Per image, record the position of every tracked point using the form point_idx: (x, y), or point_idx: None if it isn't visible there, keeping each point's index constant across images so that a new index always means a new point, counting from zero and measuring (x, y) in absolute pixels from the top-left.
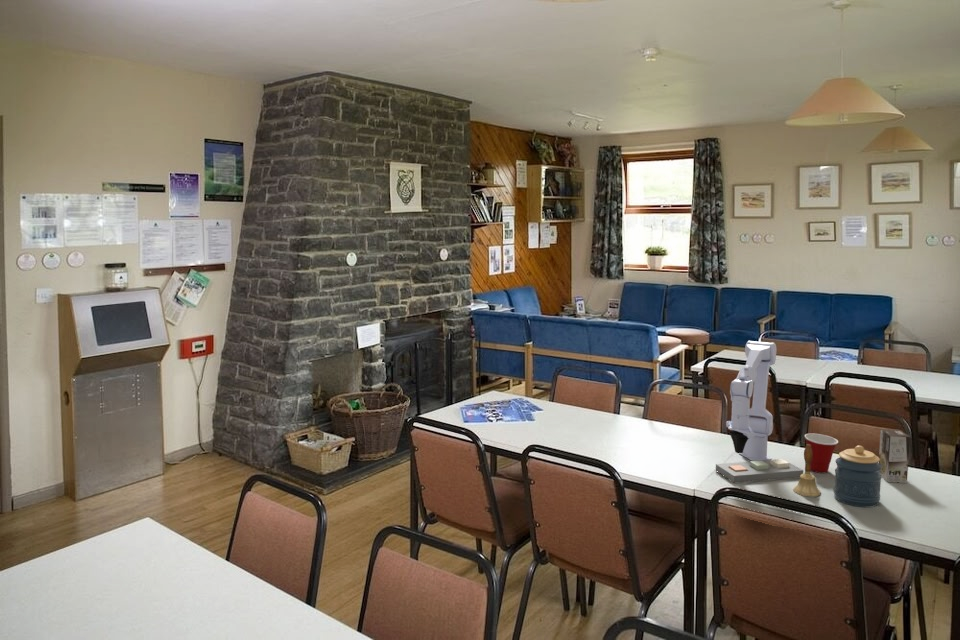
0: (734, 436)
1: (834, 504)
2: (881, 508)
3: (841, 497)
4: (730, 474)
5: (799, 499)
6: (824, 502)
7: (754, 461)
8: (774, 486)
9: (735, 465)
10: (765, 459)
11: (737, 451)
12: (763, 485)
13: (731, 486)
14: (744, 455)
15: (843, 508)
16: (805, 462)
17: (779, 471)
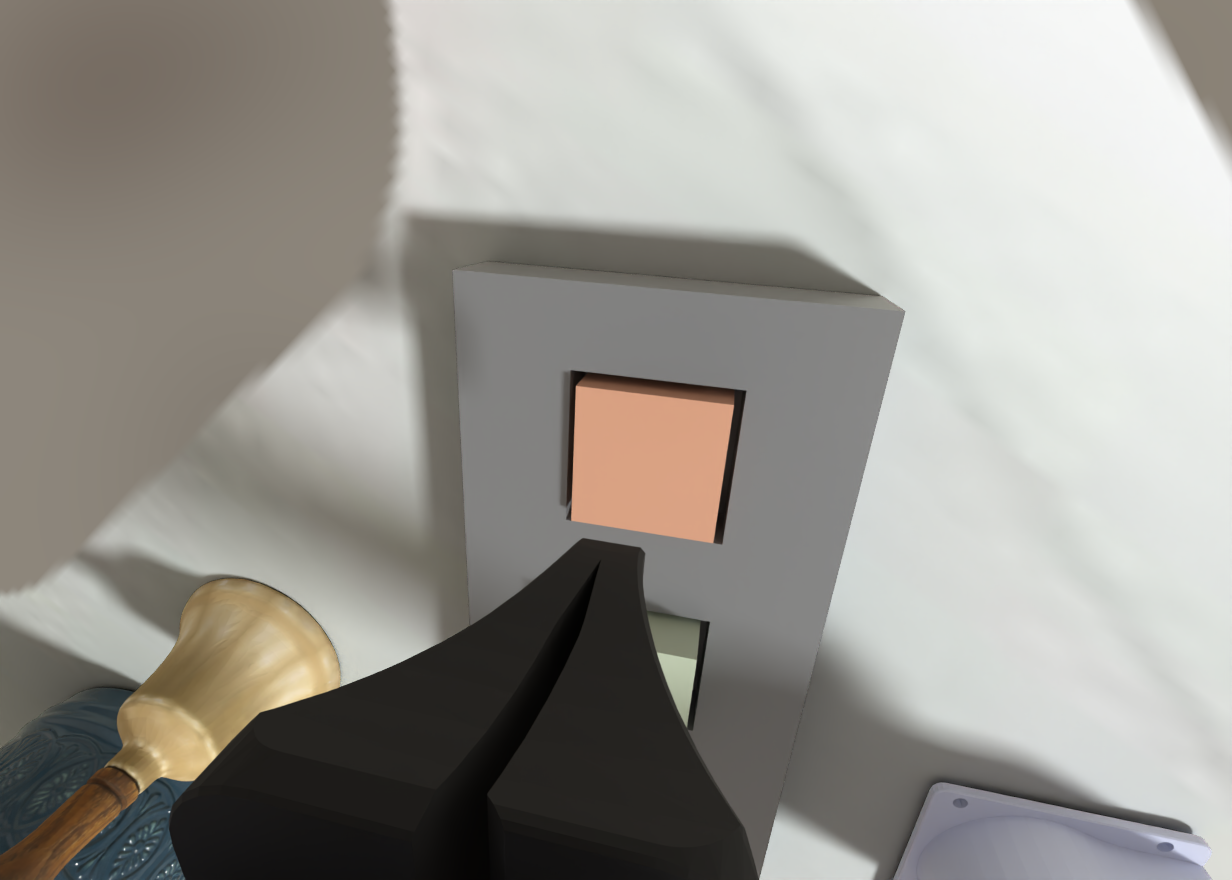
0: (386, 740)
1: (83, 635)
2: None
3: (79, 705)
4: (533, 276)
5: (136, 520)
6: (105, 612)
7: (678, 693)
8: (368, 539)
9: (718, 485)
10: (900, 870)
11: (569, 554)
12: (396, 479)
13: (406, 175)
14: (1092, 822)
15: (36, 632)
16: (30, 848)
17: None
